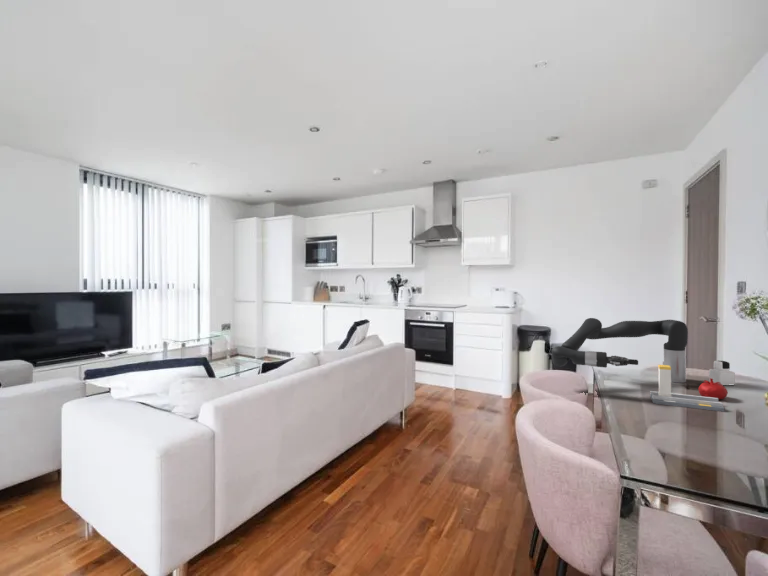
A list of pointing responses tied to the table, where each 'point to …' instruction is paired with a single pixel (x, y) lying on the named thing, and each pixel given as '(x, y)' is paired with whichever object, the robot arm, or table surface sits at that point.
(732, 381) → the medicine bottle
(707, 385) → the red round fruit
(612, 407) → the table surface
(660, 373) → the switch tab
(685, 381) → the robot arm
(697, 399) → the switch plate
